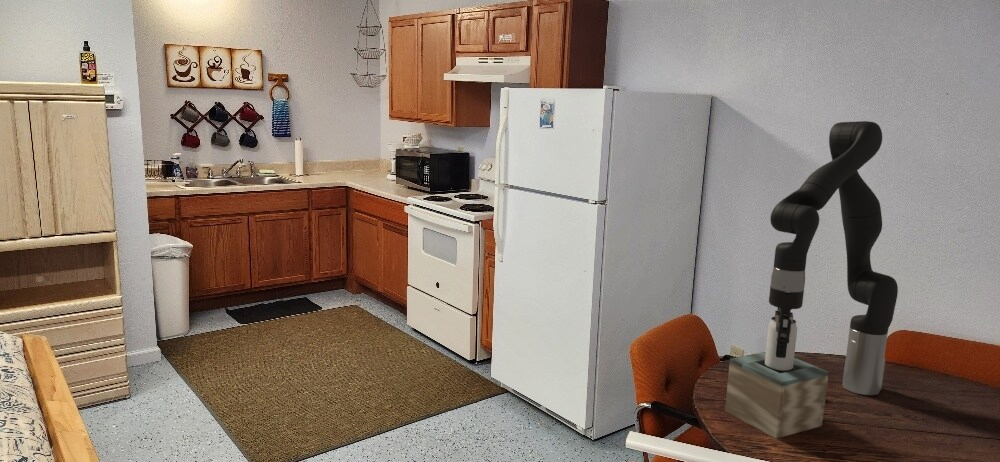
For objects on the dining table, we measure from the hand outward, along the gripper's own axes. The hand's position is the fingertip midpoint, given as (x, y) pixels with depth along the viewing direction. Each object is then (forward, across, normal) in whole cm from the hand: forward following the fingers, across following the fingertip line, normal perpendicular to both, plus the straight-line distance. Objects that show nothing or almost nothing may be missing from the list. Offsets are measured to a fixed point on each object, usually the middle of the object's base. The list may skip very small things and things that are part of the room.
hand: (779, 352), depth 168 cm
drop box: (+17, 0, 0) cm, 17 cm away
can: (+4, 0, 0) cm, 4 cm away
